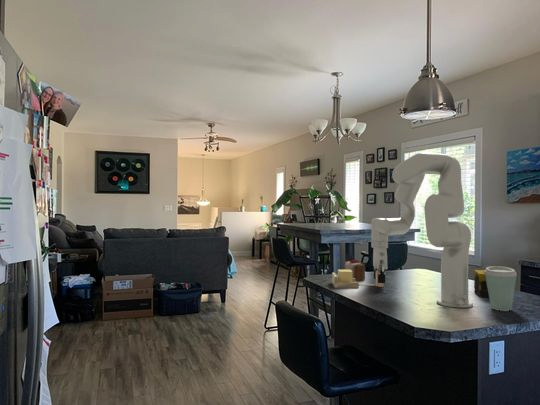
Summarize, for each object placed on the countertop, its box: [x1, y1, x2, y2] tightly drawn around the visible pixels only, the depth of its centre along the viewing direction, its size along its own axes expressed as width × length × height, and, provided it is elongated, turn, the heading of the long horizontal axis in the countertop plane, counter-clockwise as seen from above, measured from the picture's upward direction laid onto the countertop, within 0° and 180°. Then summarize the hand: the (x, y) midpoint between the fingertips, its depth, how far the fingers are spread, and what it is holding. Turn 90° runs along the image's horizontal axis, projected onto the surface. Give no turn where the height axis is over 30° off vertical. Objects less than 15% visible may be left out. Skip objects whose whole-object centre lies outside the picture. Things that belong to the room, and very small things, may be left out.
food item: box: [344, 259, 366, 282], centre depth 208 cm, size 14×8×10 cm, turn 11°
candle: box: [473, 269, 490, 299], centre depth 170 cm, size 10×10×10 cm
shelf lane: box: [331, 272, 360, 289], centre depth 189 cm, size 11×11×5 cm
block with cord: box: [337, 269, 384, 288], centre depth 189 cm, size 6×20×7 cm, turn 86°
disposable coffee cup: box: [484, 265, 518, 312], centre depth 147 cm, size 11×11×15 cm
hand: (379, 281), depth 188 cm, fingers open, 9 cm apart
